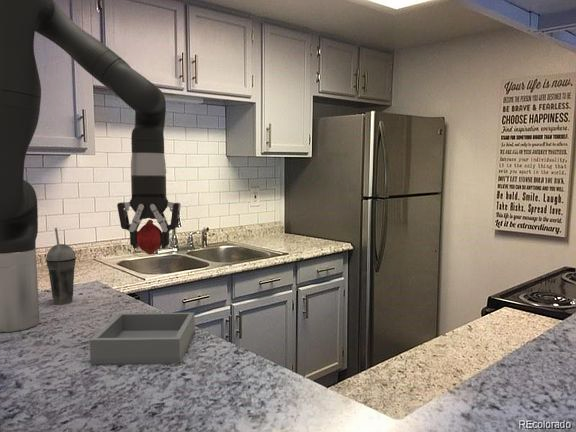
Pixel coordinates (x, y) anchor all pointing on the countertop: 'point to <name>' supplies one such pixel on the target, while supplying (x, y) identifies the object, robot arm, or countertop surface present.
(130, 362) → the tray
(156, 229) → the onion
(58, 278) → the beverage cup
